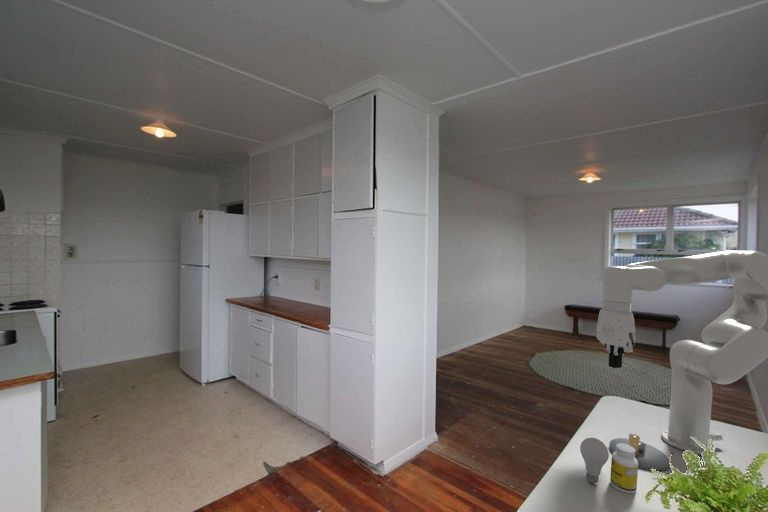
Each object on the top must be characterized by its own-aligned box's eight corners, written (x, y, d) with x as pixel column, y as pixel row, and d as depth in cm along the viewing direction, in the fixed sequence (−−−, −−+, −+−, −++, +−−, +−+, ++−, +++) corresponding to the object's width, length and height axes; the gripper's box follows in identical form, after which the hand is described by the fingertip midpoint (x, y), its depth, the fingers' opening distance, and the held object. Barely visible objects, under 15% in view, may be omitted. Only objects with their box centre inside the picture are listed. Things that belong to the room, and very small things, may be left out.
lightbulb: (595, 493, 85) (598, 448, 85) (572, 478, 91) (575, 435, 91) (612, 488, 88) (615, 443, 88) (589, 473, 94) (592, 431, 93)
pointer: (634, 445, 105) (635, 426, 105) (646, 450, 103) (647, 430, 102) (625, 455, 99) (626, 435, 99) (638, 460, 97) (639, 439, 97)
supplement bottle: (605, 478, 91) (607, 440, 91) (627, 480, 91) (629, 442, 91) (618, 493, 86) (621, 453, 86) (641, 495, 86) (644, 454, 86)
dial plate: (641, 442, 110) (641, 437, 110) (683, 470, 97) (683, 465, 96) (598, 442, 109) (598, 437, 109) (634, 471, 95) (635, 465, 95)
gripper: (587, 303, 116) (585, 360, 116) (628, 311, 101) (626, 376, 102) (607, 302, 117) (605, 358, 118) (650, 311, 103) (648, 374, 103)
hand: (615, 366), depth 110 cm, fingers closed
